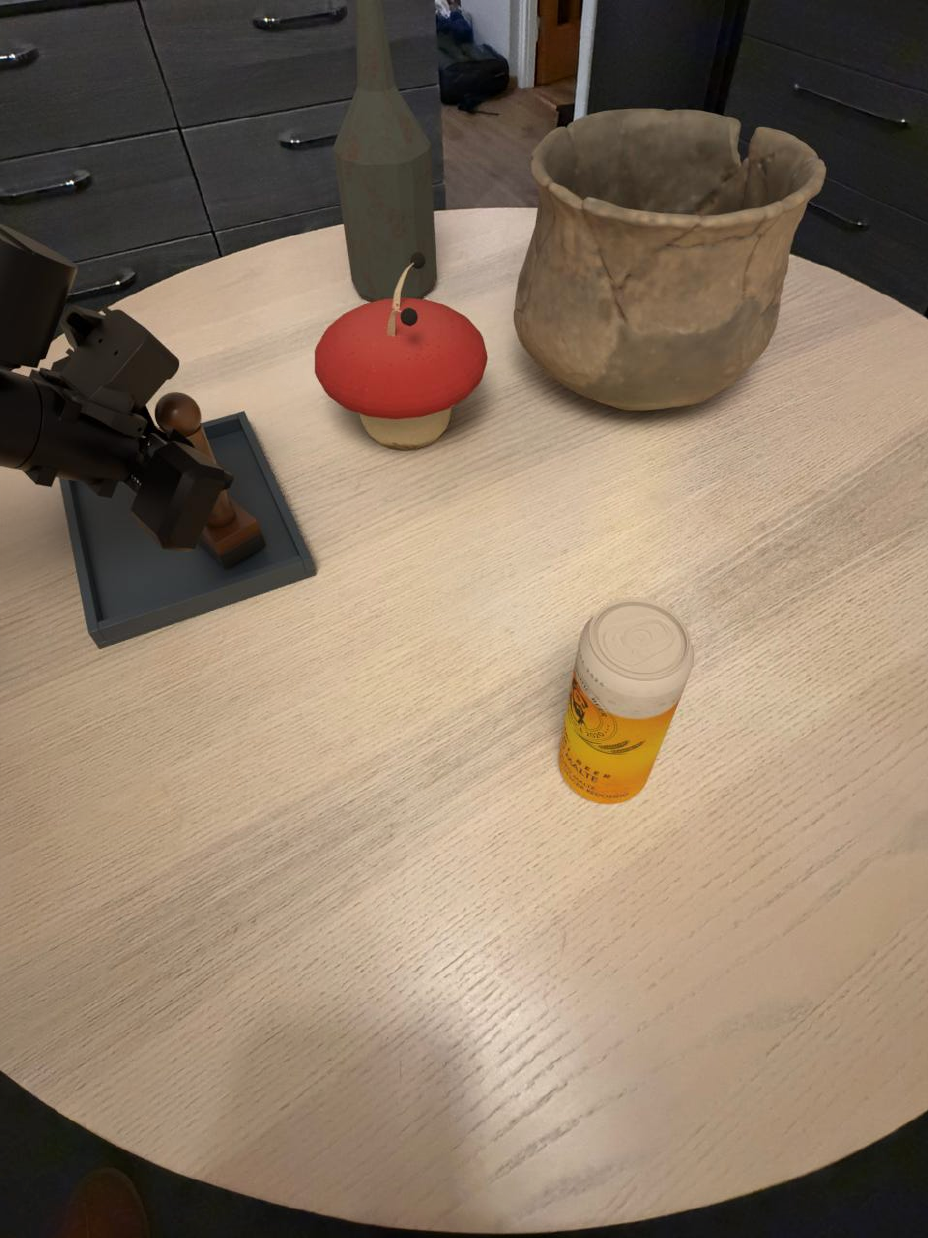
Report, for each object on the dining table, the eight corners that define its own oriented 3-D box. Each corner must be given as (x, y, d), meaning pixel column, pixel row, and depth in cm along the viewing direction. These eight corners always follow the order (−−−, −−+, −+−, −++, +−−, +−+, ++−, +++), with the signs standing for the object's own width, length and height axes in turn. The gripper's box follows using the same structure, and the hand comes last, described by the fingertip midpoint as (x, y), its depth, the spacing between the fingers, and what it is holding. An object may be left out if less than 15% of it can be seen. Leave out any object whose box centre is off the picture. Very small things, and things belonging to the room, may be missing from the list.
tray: (99, 649, 58) (87, 633, 56) (65, 480, 70) (55, 462, 68) (316, 575, 62) (312, 558, 60) (249, 428, 74) (244, 410, 72)
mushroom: (485, 481, 69) (487, 332, 57) (315, 479, 69) (282, 331, 57) (488, 380, 78) (489, 235, 66) (339, 379, 79) (314, 234, 67)
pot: (721, 316, 85) (781, 98, 68) (781, 448, 71) (876, 213, 54) (504, 322, 85) (510, 105, 68) (519, 456, 71) (532, 223, 54)
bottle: (436, 264, 94) (421, -52, 70) (438, 305, 88) (423, -26, 64) (354, 267, 94) (311, -48, 70) (350, 309, 88) (303, -21, 64)
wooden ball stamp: (266, 546, 62) (212, 396, 52) (225, 570, 61) (161, 420, 51) (235, 519, 65) (178, 372, 55) (195, 541, 64) (128, 394, 53)
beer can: (542, 746, 52) (561, 612, 40) (618, 716, 53) (658, 577, 41) (584, 823, 48) (619, 701, 36) (665, 788, 50) (723, 660, 38)
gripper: (142, 359, 39) (339, 432, 53) (-6, 245, 48) (196, 333, 61) (70, 541, 42) (273, 566, 56) (-57, 404, 51) (146, 454, 64)
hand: (220, 472), depth 59 cm, fingers closed on wooden ball stamp, 3 cm apart
